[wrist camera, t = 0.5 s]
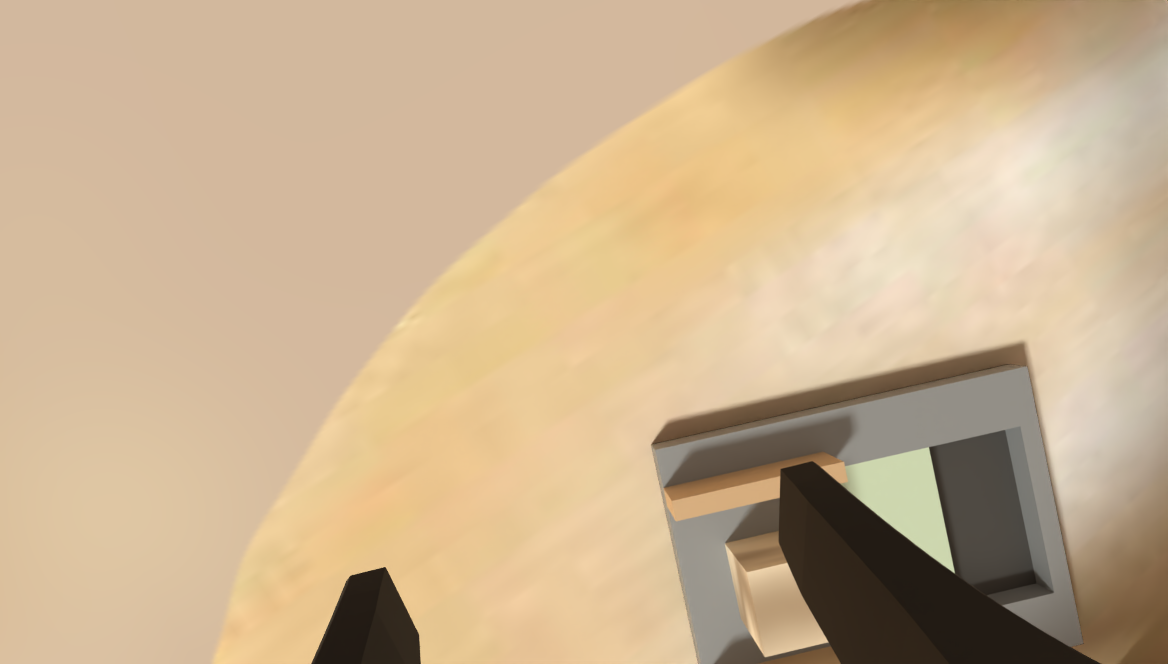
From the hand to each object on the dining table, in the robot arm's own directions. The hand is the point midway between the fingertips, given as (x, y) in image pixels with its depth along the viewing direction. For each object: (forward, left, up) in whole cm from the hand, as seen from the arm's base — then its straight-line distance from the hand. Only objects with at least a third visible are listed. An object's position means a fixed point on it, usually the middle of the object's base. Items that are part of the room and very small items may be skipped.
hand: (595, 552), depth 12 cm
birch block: (-11, -8, -22) cm, 26 cm away
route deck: (-11, -14, -23) cm, 29 cm away
